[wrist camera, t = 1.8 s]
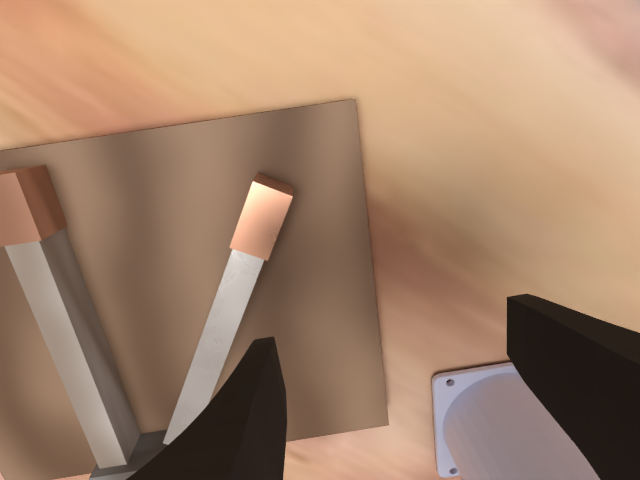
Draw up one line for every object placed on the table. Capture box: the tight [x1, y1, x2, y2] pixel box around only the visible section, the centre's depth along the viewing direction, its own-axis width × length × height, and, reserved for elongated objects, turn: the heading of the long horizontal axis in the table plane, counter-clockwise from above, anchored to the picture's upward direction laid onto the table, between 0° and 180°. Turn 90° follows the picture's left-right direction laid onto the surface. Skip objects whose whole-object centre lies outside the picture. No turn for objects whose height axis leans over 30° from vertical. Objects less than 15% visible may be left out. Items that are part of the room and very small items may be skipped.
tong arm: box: [163, 172, 293, 445], centre depth 19 cm, size 14×2×2 cm, turn 158°
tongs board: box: [0, 99, 389, 480], centre depth 19 cm, size 22×18×5 cm
